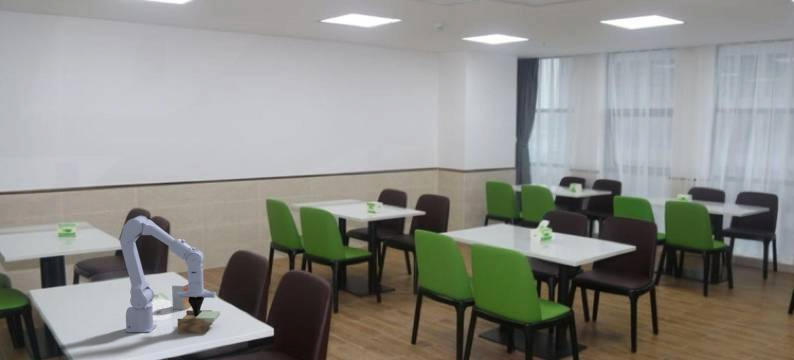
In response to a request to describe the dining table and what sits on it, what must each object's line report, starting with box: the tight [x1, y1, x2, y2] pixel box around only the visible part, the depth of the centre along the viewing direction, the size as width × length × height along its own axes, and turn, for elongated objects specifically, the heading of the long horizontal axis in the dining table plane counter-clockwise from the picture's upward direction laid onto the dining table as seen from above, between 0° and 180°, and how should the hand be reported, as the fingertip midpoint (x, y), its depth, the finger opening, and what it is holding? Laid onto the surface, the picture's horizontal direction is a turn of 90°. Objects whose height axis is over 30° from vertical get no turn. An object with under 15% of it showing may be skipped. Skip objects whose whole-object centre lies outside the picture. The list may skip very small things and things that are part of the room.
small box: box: [171, 281, 192, 311], centre depth 287 cm, size 8×6×10 cm
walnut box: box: [177, 309, 214, 334], centre depth 259 cm, size 10×12×6 cm
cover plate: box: [196, 310, 221, 323], centre depth 259 cm, size 7×9×2 cm
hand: (197, 315), depth 259 cm, fingers closed
